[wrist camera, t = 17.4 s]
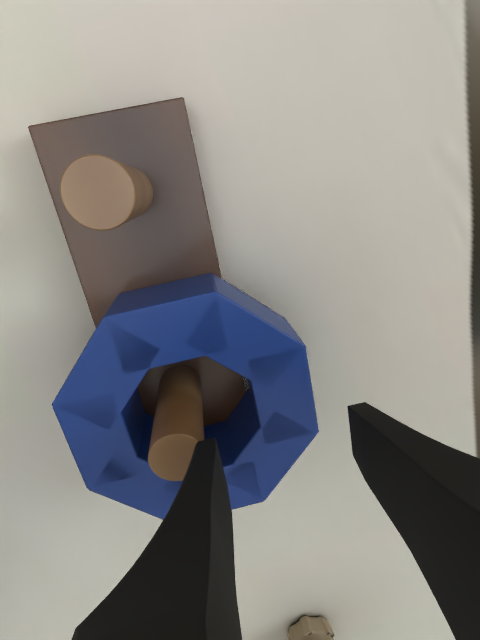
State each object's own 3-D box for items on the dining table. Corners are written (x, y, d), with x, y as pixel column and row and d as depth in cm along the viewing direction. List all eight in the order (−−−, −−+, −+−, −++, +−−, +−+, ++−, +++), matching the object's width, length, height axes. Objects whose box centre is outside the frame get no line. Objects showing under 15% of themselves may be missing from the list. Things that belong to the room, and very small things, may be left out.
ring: (121, 486, 20) (108, 541, 17) (53, 307, 17) (21, 335, 14) (306, 440, 21) (327, 485, 17) (275, 258, 17) (294, 273, 14)
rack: (139, 431, 21) (116, 542, 14) (41, 131, 16) (-64, 90, 9) (247, 406, 21) (273, 503, 15) (184, 104, 16) (179, 46, 10)
